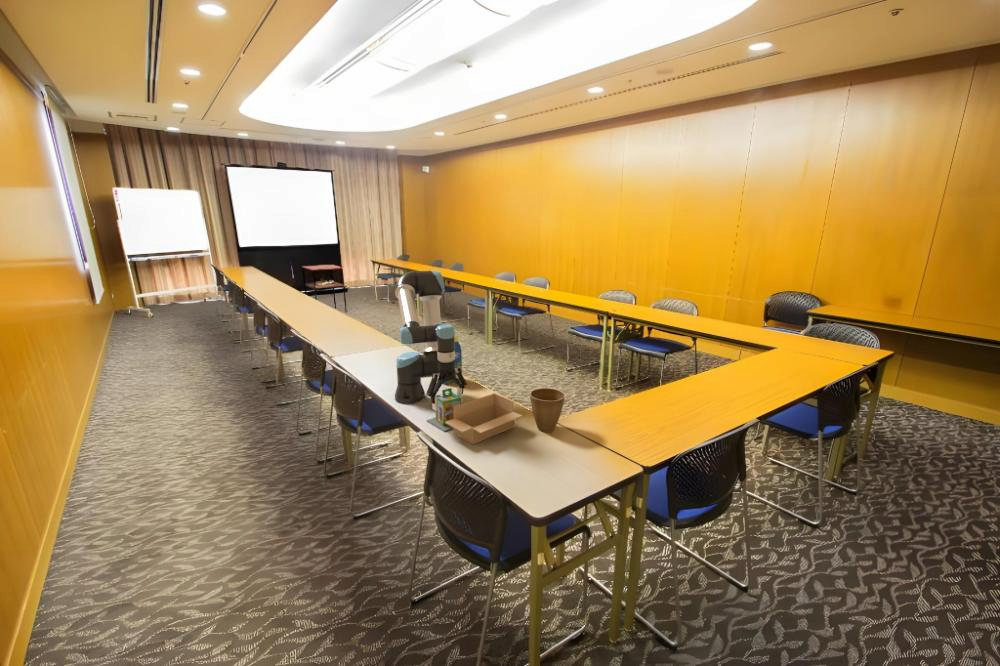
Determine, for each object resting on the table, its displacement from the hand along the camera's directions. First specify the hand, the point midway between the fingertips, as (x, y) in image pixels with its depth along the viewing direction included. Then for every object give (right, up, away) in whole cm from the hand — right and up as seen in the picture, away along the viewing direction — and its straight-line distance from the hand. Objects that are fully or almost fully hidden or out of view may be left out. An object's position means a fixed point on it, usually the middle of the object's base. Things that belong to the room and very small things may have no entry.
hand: (447, 405), depth 195 cm
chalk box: (0, -7, +2) cm, 8 cm away
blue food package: (-5, +5, +53) cm, 53 cm away
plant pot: (+44, -9, -4) cm, 45 cm away
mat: (0, -8, +2) cm, 8 cm away
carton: (+17, -10, -9) cm, 22 cm away
